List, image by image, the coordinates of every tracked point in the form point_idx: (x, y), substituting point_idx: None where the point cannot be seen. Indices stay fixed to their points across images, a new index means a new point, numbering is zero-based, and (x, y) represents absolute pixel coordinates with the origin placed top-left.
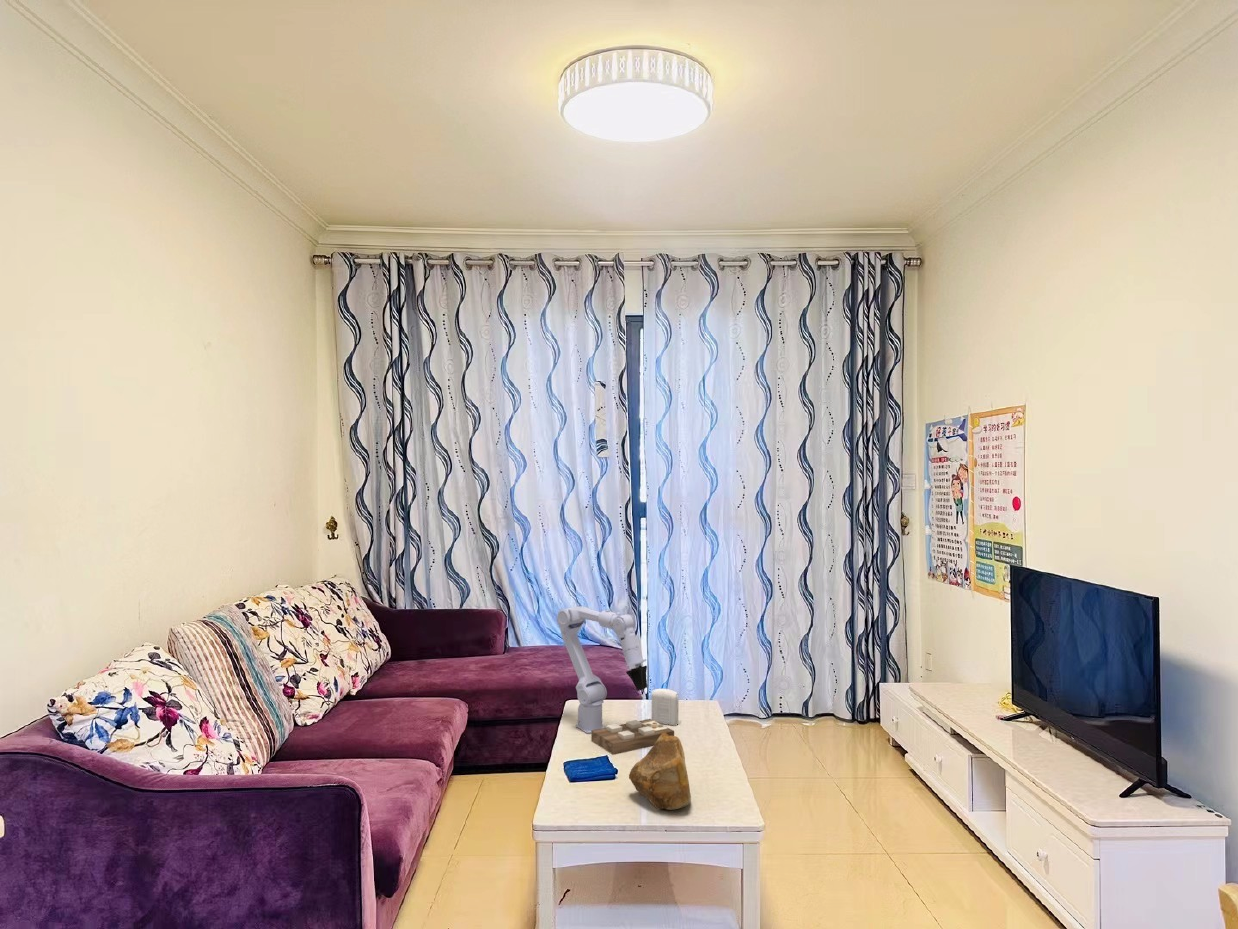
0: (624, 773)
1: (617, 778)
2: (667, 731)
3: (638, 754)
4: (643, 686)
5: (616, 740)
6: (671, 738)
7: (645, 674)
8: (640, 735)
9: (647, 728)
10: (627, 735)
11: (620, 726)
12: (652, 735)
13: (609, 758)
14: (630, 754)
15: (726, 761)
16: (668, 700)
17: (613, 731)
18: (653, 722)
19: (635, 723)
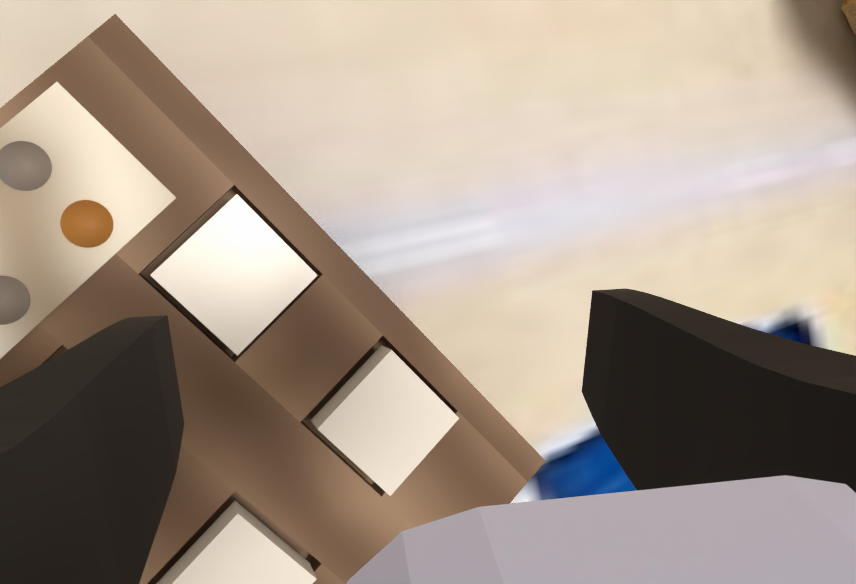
0: (740, 288)
1: (797, 307)
2: (153, 79)
3: (467, 278)
4: (629, 296)
5: (478, 462)
6: None
7: (43, 429)
8: (324, 308)
9: (219, 268)
10: (436, 396)
11: (226, 534)
12: (297, 205)
13: (568, 442)
14: (478, 331)
15: None
16: None
17: (301, 560)
18: None
19: None
